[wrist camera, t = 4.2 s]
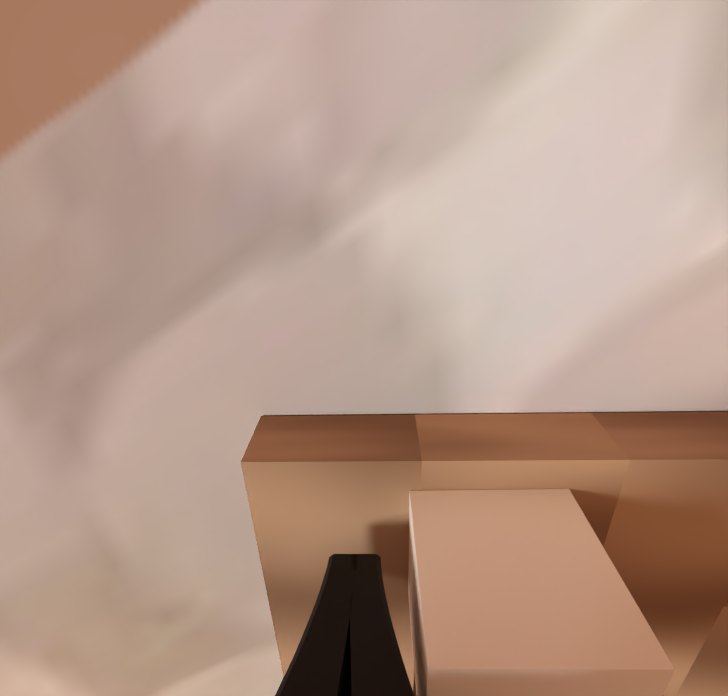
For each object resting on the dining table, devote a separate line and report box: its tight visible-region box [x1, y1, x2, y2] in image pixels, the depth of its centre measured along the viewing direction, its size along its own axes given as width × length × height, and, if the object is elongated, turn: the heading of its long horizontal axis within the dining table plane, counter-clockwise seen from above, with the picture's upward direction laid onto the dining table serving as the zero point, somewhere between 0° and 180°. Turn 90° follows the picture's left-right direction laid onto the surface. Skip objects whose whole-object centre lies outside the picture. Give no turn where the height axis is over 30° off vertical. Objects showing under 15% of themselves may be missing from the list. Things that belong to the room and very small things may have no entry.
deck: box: [241, 411, 728, 696], centre depth 12 cm, size 12×24×4 cm, turn 92°
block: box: [408, 489, 675, 696], centre depth 9 cm, size 4×4×4 cm
